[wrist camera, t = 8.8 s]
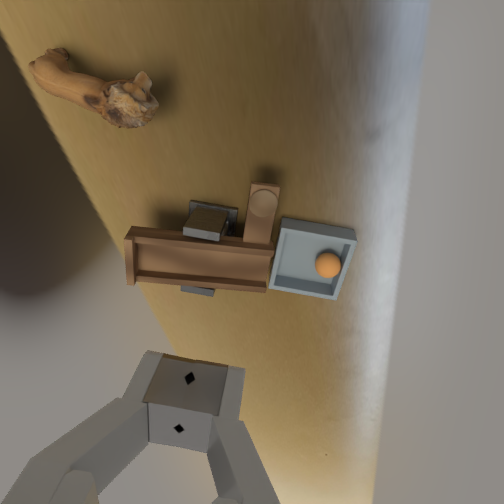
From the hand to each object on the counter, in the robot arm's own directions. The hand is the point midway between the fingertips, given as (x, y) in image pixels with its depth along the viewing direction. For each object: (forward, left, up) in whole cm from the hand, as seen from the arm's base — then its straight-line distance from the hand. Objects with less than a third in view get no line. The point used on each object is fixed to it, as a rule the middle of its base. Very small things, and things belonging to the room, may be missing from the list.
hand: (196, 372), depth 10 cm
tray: (+13, +8, -31) cm, 35 cm away
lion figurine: (-4, -17, -31) cm, 36 cm away
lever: (+10, -5, -26) cm, 28 cm away
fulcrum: (+13, -5, -31) cm, 34 cm away
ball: (+13, +10, -29) cm, 33 cm away
